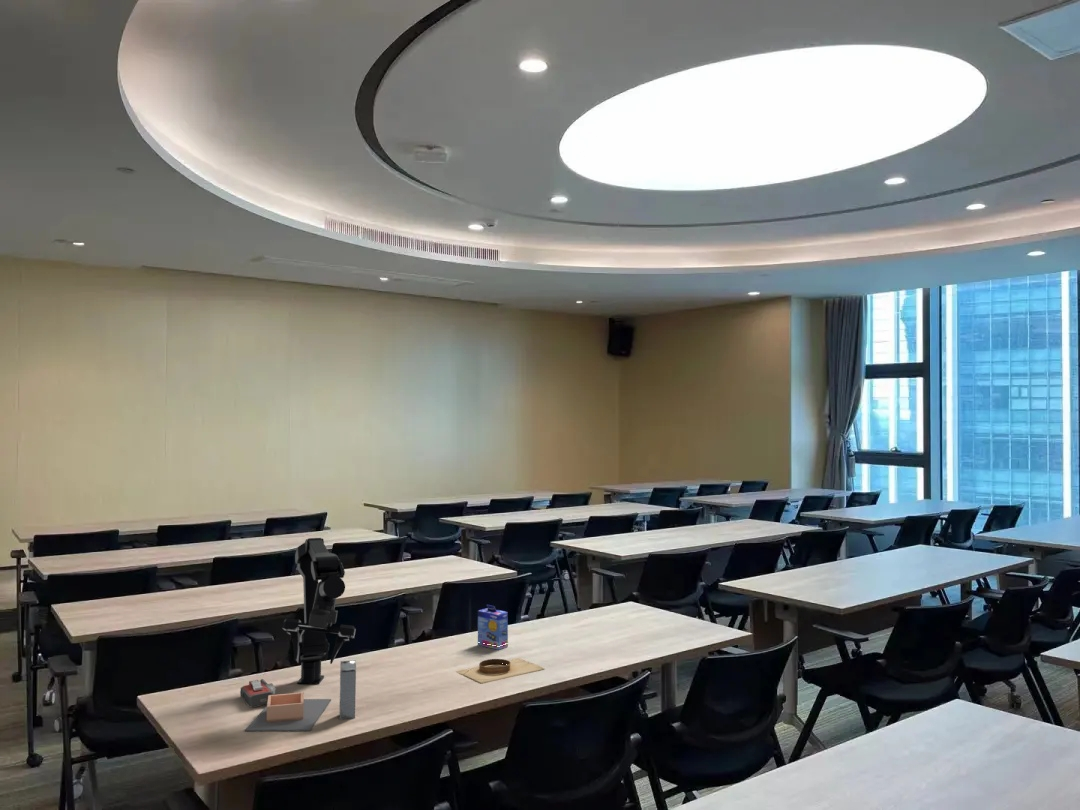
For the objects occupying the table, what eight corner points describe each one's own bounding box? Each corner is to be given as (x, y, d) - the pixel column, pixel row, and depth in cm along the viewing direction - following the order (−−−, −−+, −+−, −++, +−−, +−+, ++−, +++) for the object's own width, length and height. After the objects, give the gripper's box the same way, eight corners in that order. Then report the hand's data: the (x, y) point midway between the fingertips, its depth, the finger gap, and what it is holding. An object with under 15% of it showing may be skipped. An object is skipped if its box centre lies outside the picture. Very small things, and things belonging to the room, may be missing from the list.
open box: (268, 710, 204) (268, 695, 204) (303, 707, 207) (303, 692, 207) (266, 722, 196) (266, 706, 196) (303, 719, 198) (303, 703, 198)
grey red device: (283, 702, 210) (265, 684, 227) (283, 685, 210) (265, 669, 227) (249, 709, 205) (233, 690, 222) (249, 692, 205) (233, 675, 222)
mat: (272, 700, 213) (272, 699, 213) (331, 700, 213) (331, 699, 214) (244, 731, 191) (244, 729, 191) (310, 731, 192) (310, 729, 192)
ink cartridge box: (476, 645, 270) (477, 603, 271) (486, 642, 275) (487, 601, 276) (498, 650, 265) (498, 607, 265) (508, 646, 269) (508, 604, 270)
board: (479, 686, 228) (479, 675, 228) (452, 674, 240) (452, 663, 240) (545, 671, 244) (545, 661, 244) (517, 660, 256) (517, 650, 256)
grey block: (339, 714, 203) (340, 659, 203) (354, 713, 204) (355, 658, 204) (339, 719, 200) (341, 663, 200) (355, 717, 201) (356, 662, 201)
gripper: (286, 593, 202) (273, 656, 196) (358, 602, 205) (347, 663, 199) (291, 599, 212) (278, 658, 206) (359, 607, 215) (349, 666, 209)
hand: (313, 661), depth 205 cm, fingers open, 9 cm apart
